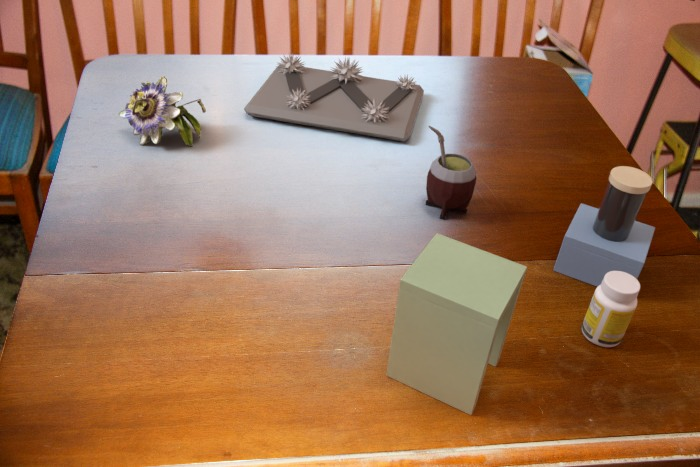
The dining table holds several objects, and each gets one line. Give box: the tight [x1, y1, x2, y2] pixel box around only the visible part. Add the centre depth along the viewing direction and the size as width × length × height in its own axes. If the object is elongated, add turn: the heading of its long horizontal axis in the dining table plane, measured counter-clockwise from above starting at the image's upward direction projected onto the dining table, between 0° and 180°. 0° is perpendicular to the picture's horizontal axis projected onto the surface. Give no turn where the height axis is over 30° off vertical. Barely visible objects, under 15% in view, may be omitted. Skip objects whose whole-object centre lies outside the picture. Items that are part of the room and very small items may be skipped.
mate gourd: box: [425, 125, 477, 221], centre depth 93 cm, size 8×8×15 cm
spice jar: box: [593, 165, 653, 242], centre depth 83 cm, size 5×5×8 cm
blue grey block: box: [553, 203, 656, 288], centre depth 88 cm, size 10×9×6 cm
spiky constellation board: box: [243, 53, 425, 142], centre depth 121 cm, size 30×22×7 cm
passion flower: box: [118, 75, 207, 147], centre depth 108 cm, size 11×11×12 cm
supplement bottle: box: [581, 271, 641, 348], centre depth 76 cm, size 5×5×8 cm
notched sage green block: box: [385, 233, 528, 416], centre depth 69 cm, size 10×9×14 cm
